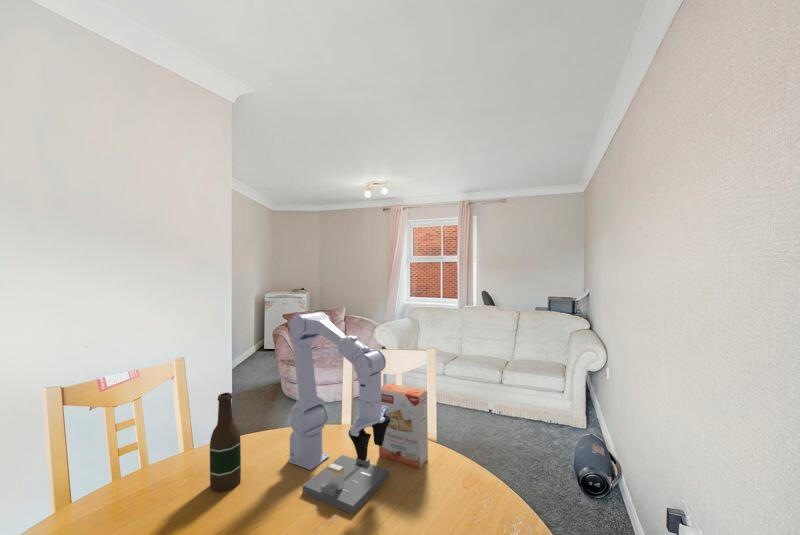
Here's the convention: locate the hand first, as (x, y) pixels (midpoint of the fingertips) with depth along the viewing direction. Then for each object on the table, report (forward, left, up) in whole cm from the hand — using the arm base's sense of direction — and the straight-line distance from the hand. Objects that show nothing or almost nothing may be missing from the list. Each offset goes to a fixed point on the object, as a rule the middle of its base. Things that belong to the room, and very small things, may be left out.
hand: (370, 451), depth 88 cm
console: (-7, -1, -10) cm, 12 cm away
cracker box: (0, +17, -10) cm, 20 cm away
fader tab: (-7, -6, -8) cm, 12 cm away
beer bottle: (-36, -16, -10) cm, 41 cm away
